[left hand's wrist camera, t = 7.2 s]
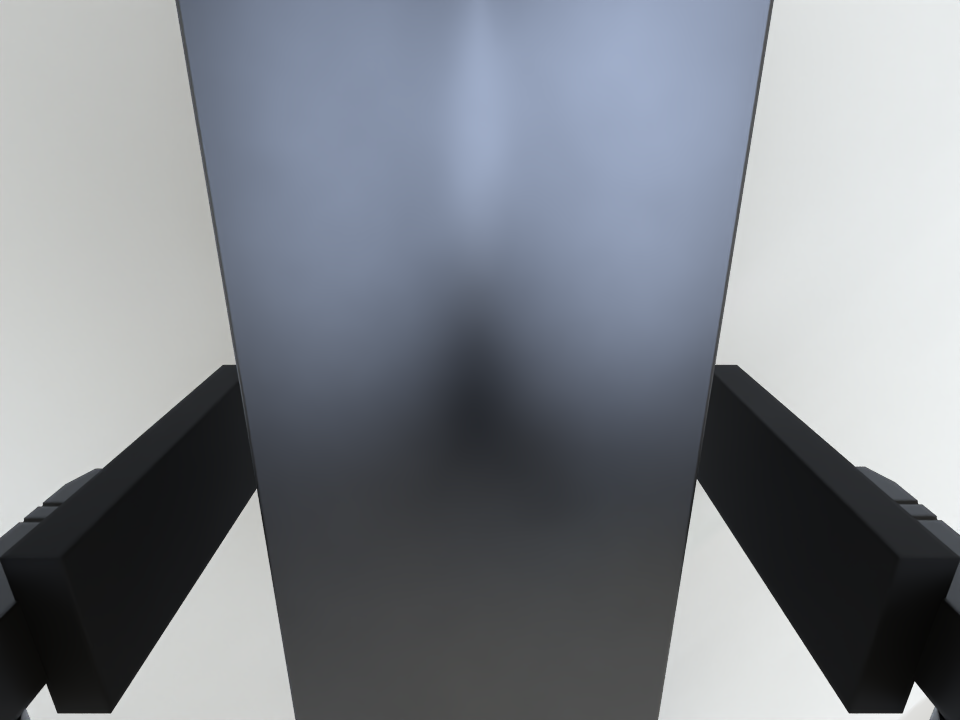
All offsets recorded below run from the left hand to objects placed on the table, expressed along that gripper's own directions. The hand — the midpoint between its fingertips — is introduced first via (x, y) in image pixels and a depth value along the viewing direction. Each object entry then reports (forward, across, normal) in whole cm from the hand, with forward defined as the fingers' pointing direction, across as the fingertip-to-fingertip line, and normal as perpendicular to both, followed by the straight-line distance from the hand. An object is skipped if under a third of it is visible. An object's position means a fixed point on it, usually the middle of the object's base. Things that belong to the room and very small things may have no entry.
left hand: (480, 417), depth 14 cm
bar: (+2, 0, -8) cm, 8 cm away
